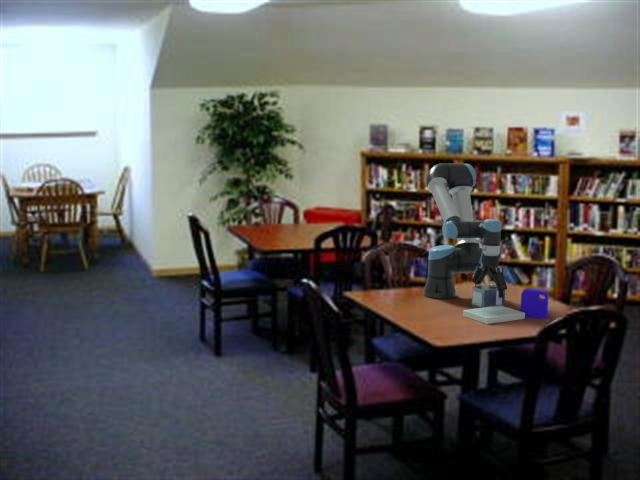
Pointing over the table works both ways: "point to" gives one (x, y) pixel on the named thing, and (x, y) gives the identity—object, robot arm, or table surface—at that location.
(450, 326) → the table surface
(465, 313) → the tray
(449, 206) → the robot arm
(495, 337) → the table surface
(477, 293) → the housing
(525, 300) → the bracket
